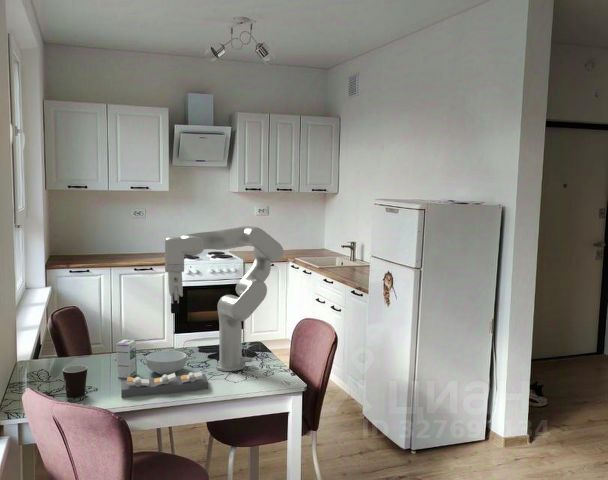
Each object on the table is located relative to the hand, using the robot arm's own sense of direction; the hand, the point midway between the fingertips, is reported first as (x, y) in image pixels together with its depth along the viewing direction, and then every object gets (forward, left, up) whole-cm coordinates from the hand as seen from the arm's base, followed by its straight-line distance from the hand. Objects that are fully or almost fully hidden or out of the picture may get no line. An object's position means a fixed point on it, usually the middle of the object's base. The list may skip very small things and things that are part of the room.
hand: (175, 312), depth 230 cm
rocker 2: (-5, +14, -24) cm, 28 cm away
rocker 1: (+15, +14, -24) cm, 32 cm away
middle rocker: (+5, +14, -24) cm, 28 cm away
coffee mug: (+37, +8, -27) cm, 47 cm away
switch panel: (+5, +12, -27) cm, 30 cm away
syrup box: (+19, -8, -27) cm, 34 cm away
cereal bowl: (+3, -9, -27) cm, 29 cm away
